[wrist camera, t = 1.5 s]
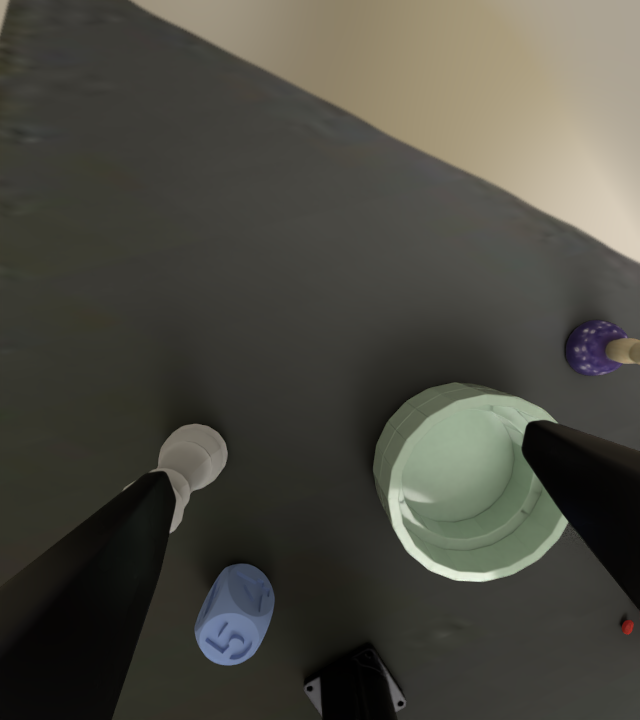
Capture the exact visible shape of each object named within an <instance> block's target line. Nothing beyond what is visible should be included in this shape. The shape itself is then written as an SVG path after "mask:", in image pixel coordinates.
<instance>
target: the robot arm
mask: <svg viewBox="0 0 640 720" xmlns="http://www.w3.org/2000/svg"><path fill="white" fill-rule="evenodd" d="M521 451H522V454H523V457H524V458H525V460H526V461H527V463H528V464H529V466H530V467H531V469H532V470H533V472H534V473H535V475H536V476H537V478H538V479H539V481H540V482H541V484H542V485H543V487H544V488H545V490H546V491H547V493H548V494H549V496H550V497H551V499H552V500H553V501H554V503H555V504H556V506H557V507H558V509H559V510H560V512H561V513H562V514H563V516H564V517H565V518H566V520H567V521H568V522H569V523H570V525H571V526H572V527H573V528H574V530H575V531H576V532H577V533H578V535H579V536H580V537H581V538H582V540H583V541H584V542H585V543H586V545H587V546H588V547H589V548H590V550H591V551H592V552H593V553H594V555H595V556H596V557H597V558H598V559H599V561H600V562H601V563H602V564H603V566H604V567H605V568H606V569H607V571H608V572H609V573H610V574H611V576H612V577H613V578H614V579H615V581H616V582H617V583H618V584H619V586H620V587H621V588H622V589H623V591H624V592H625V593H626V594H627V596H628V597H629V598H630V599H631V601H632V602H633V603H634V604H635V605H636V607H637V608H638V609H639V610H640V451H637V450H634V449H631V448H628V447H625V446H622V445H620V444H617V443H614V442H611V441H608V440H605V439H602V438H599V437H596V436H593V435H590V434H587V433H584V432H581V431H578V430H575V429H572V428H569V427H566V426H563V425H561V424H558V423H555V422H552V421H549V420H538V421H531V422H529V423H528V424H527V425H526V428H525V432H524V437H523V442H522V446H521ZM175 507H176V496H175V493H174V490H173V487H172V485H171V482H170V479H169V477H168V475H167V473H166V472H165V471H155V472H149V473H146V474H144V475H143V476H141V477H140V478H139V479H138V480H136V481H135V482H134V483H133V484H131V485H130V486H129V487H127V488H126V489H125V490H124V491H122V492H121V493H120V494H118V495H117V496H116V497H115V498H113V499H112V500H111V501H110V502H108V503H107V504H106V505H104V506H103V507H102V508H101V509H99V510H98V511H97V512H96V513H94V514H93V515H92V516H90V517H89V518H88V519H87V520H85V521H84V522H83V523H81V524H80V525H79V526H78V527H76V528H75V529H74V530H73V531H71V532H70V533H69V534H67V535H66V536H65V537H64V538H62V539H61V540H60V541H58V542H57V543H56V544H55V545H53V546H52V547H51V548H50V549H48V550H47V551H46V552H44V553H43V554H42V555H41V556H39V557H38V558H37V559H35V560H34V561H33V562H32V563H30V564H29V565H28V566H27V567H25V568H24V569H23V570H21V571H20V572H19V573H18V574H16V575H15V576H14V577H12V578H11V579H10V580H9V581H7V582H6V583H5V584H4V585H2V586H1V587H0V720H112V717H113V714H114V711H115V708H116V705H117V702H118V699H119V696H120V693H121V690H122V687H123V684H124V681H125V678H126V675H127V672H128V669H129V666H130V663H131V660H132V657H133V654H134V651H135V648H136V645H137V642H138V639H139V636H140V633H141V630H142V627H143V624H144V621H145V618H146V615H147V612H148V609H149V606H150V603H151V600H152V597H153V594H154V591H155V588H156V585H157V581H158V578H159V575H160V571H161V567H162V563H163V559H164V555H165V551H166V546H167V542H168V537H169V533H170V529H171V524H172V520H173V516H174V511H175ZM304 692H305V693H306V695H307V696H308V698H309V699H310V700H311V702H312V703H313V705H314V706H315V708H316V709H317V711H318V712H319V713H320V715H321V716H322V720H397V715H396V712H397V711H399V710H401V709H403V708H404V707H405V706H406V703H407V702H406V699H405V696H404V694H403V692H402V691H401V689H400V687H399V686H398V684H397V683H396V681H395V679H394V678H393V676H392V675H391V673H390V672H389V670H388V668H387V667H386V665H385V664H384V662H383V661H382V659H381V657H380V656H379V654H378V653H377V651H376V649H375V648H374V646H373V645H371V644H366V645H364V646H362V647H361V648H359V649H357V650H355V651H354V652H352V653H350V654H348V655H347V656H345V657H343V658H341V659H340V660H338V661H336V662H334V663H333V664H331V665H329V666H327V667H326V668H324V669H322V670H320V671H319V672H317V673H315V674H313V675H312V676H310V677H308V678H306V679H305V680H304Z"/></svg>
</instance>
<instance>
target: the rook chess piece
mask: <svg viewBox="0 0 640 720" xmlns="http://www.w3.org/2000/svg"><path fill="white" fill-rule="evenodd" d="M227 455H228V452H227V448H226V443H225V441H224V440H223V438H222V437H221V436H220V434H219V433H218V432H217V431H215V430H213V429H212V428H210V427H209V426H205V425H200V424H191V425H185V426H182V427H181V428H179V429H178V430H176V431H174V432H173V433H172V434H171V436H170V437H168V439H167V440H166V442H165V443H164V444H163V446H162V447H161V450H160V454H159V460H158V463H159V464H158V467H157V469H155V470H152V471H150V472H155V471H165V472H166V473H167V475H168V477H169V479H170V482H171V485H172V487H173V490H174V493H175V496H176V507H175V511H174V516H173V520H172V524H171V529H170V533H171V532H173V531H174V530H175V529H176V528H177V526H178V525H179V524H180V522H181V521H182V516H183V511H184V507H185V506H186V505H187V503H188V502H189V497H190V493H191V492H192V491H193V490H197V489H201V488H203V487H205V486H206V485H208V484H209V483H211V482H213V481H214V480H215V479H216V478H217V476H218V475H219V474H220V472H221V471H222V469H223V468H224V467H225V465H226V460H227ZM134 482H135V481H134ZM134 482H132V483H131V484H133V483H134ZM131 484H129V485H128V486H126V487H125V488H124V490H125V489H126V488H127V487H129V486H130V485H131ZM124 490H123V491H124ZM170 533H169V534H170Z"/></svg>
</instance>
